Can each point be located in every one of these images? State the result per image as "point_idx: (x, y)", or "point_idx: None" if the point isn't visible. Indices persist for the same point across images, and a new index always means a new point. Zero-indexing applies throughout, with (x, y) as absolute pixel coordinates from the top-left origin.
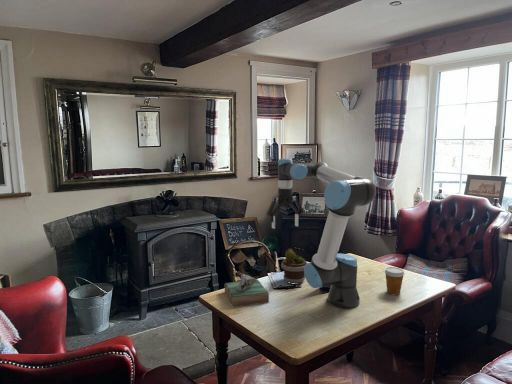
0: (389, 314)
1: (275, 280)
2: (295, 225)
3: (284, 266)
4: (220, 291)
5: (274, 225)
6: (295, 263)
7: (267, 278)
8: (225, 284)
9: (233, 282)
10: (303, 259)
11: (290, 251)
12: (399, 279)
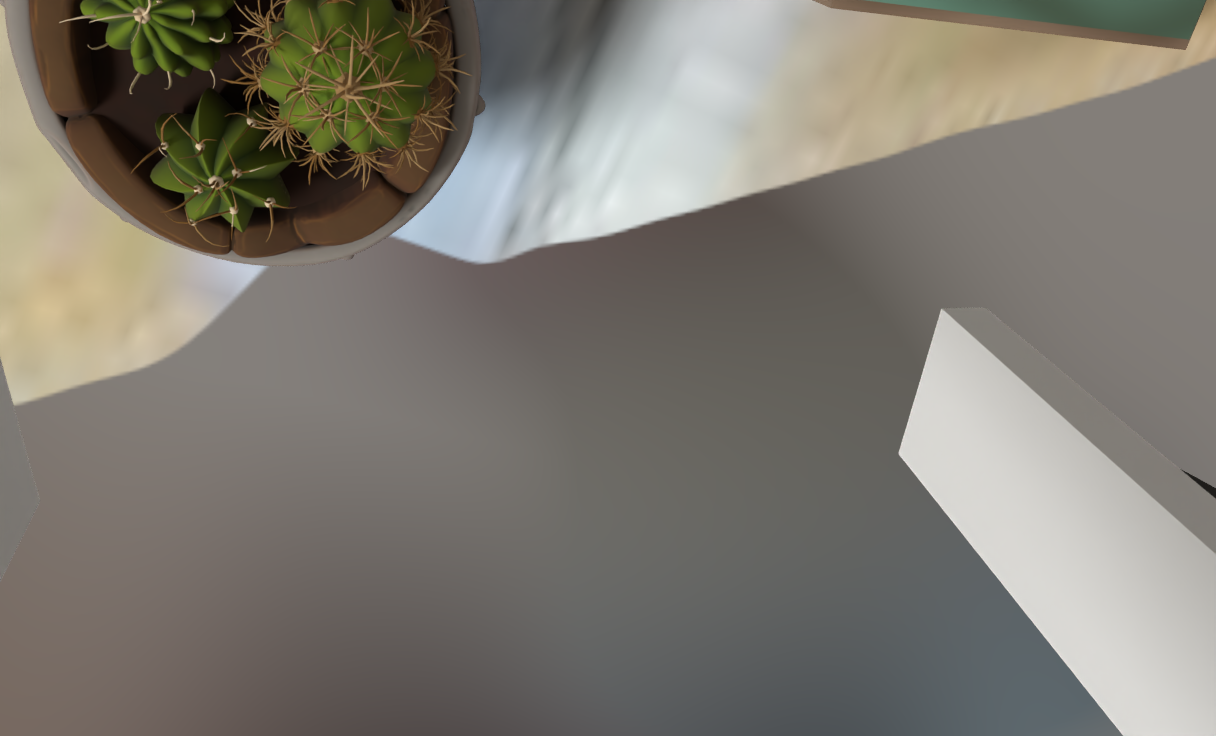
0: None
1: (509, 122)
2: (25, 462)
3: (472, 9)
4: (1140, 64)
5: (1026, 364)
6: (252, 23)
7: (569, 211)
8: (1191, 25)
9: (1118, 22)
10: (56, 61)
11: (359, 53)
12: None
